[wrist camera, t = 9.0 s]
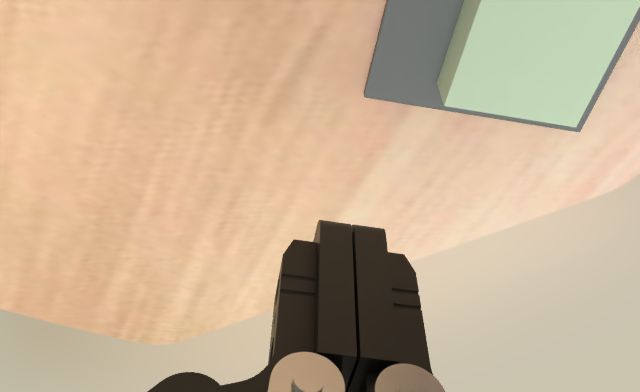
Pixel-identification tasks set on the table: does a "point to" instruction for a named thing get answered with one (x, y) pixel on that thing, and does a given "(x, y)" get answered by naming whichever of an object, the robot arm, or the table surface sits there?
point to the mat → (435, 57)
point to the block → (532, 56)
